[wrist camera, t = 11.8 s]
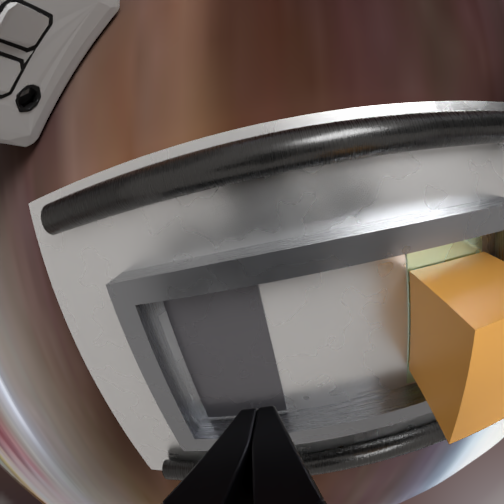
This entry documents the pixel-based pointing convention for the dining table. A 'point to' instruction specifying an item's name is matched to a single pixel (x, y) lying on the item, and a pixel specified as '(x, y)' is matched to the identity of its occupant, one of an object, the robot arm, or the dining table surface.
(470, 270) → the orange cube block
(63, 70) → the electrical switch
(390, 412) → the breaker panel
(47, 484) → the dining table surface
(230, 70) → the dining table surface
